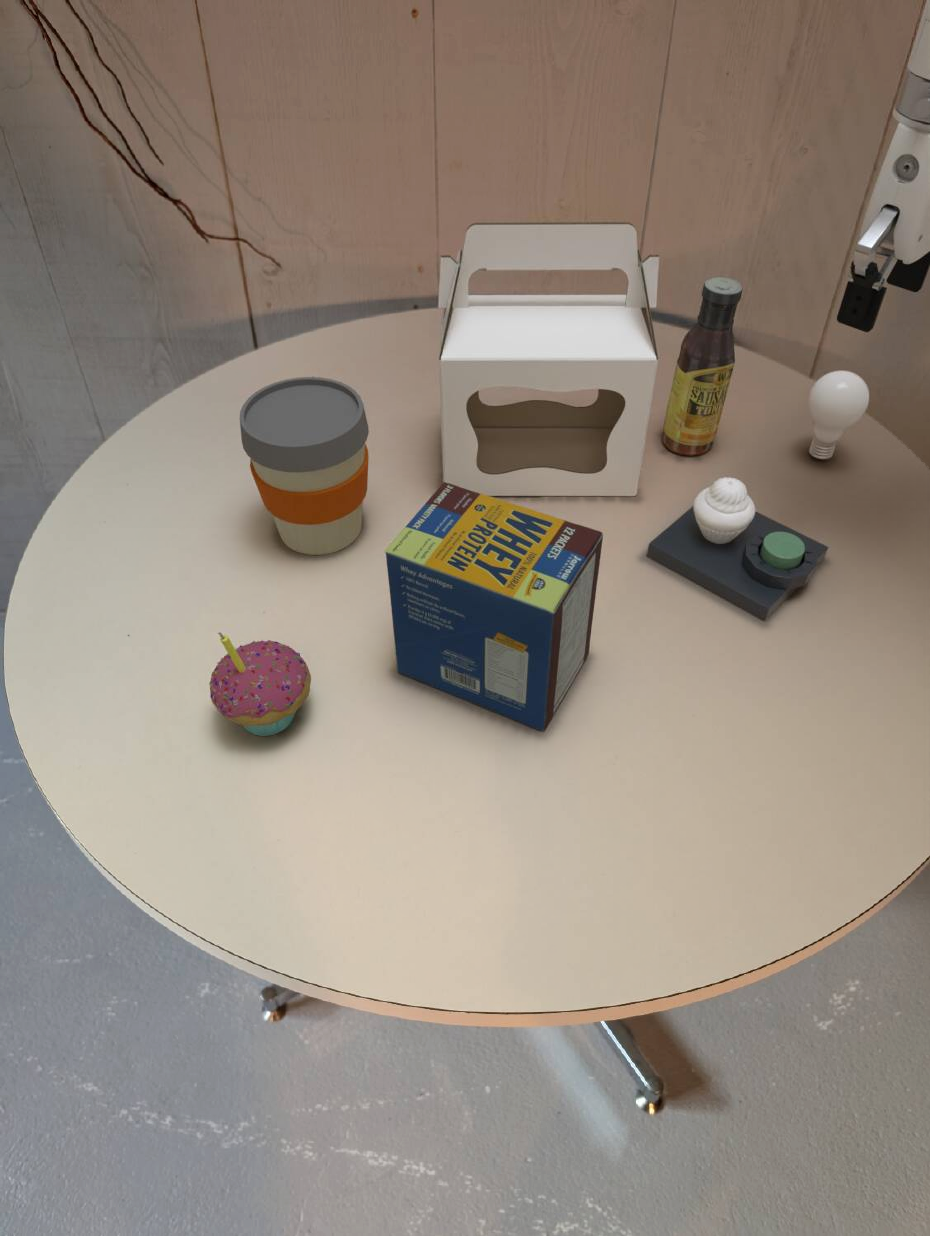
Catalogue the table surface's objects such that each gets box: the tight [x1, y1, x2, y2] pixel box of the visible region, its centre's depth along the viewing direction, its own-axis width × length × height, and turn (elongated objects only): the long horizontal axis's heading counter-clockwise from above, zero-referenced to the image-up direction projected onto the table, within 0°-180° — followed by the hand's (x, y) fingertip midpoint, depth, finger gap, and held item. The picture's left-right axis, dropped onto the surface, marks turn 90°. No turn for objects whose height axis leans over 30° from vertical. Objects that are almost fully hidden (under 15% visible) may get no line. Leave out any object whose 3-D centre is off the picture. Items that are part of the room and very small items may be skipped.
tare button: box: [760, 532, 805, 570], centre depth 90 cm, size 4×4×2 cm
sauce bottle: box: [661, 276, 743, 457], centre depth 102 cm, size 7×6×20 cm
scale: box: [646, 506, 829, 622], centre depth 94 cm, size 15×12×4 cm
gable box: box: [437, 221, 660, 497], centre depth 97 cm, size 22×13×28 cm, turn 89°
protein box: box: [384, 482, 604, 732], centre depth 80 cm, size 10×15×16 cm
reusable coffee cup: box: [239, 376, 370, 556], centre depth 94 cm, size 12×13×15 cm
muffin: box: [692, 476, 756, 544], centre depth 92 cm, size 6×6×7 cm
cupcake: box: [208, 631, 312, 737], centre depth 77 cm, size 9×8×12 cm
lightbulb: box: [807, 370, 870, 460], centre depth 103 cm, size 6×6×11 cm
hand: (878, 305), depth 83 cm, fingers open, 9 cm apart
